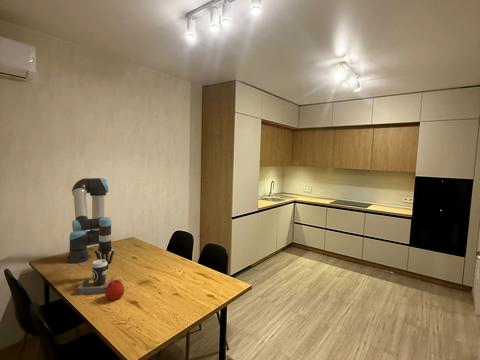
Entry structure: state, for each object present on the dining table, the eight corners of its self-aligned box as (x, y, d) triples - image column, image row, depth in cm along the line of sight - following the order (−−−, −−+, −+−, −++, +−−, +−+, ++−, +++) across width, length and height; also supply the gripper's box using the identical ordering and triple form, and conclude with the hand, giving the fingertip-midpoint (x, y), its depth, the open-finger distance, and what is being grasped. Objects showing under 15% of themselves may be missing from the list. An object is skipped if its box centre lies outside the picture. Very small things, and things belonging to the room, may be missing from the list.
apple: (111, 304, 147) (111, 286, 146) (101, 298, 152) (101, 281, 152) (127, 296, 156) (127, 279, 155) (117, 291, 161) (117, 275, 160)
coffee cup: (101, 288, 164) (101, 265, 163) (87, 286, 165) (87, 263, 164) (110, 281, 173) (110, 259, 172) (97, 280, 175) (97, 258, 173)
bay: (87, 282, 170) (86, 277, 170) (113, 282, 172) (113, 277, 172) (76, 294, 156) (76, 288, 156) (105, 293, 158) (105, 287, 158)
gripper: (92, 242, 173) (92, 276, 175) (113, 242, 175) (113, 276, 177) (97, 238, 180) (97, 271, 182) (116, 238, 182) (116, 271, 184)
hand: (105, 273), depth 180 cm, fingers closed
